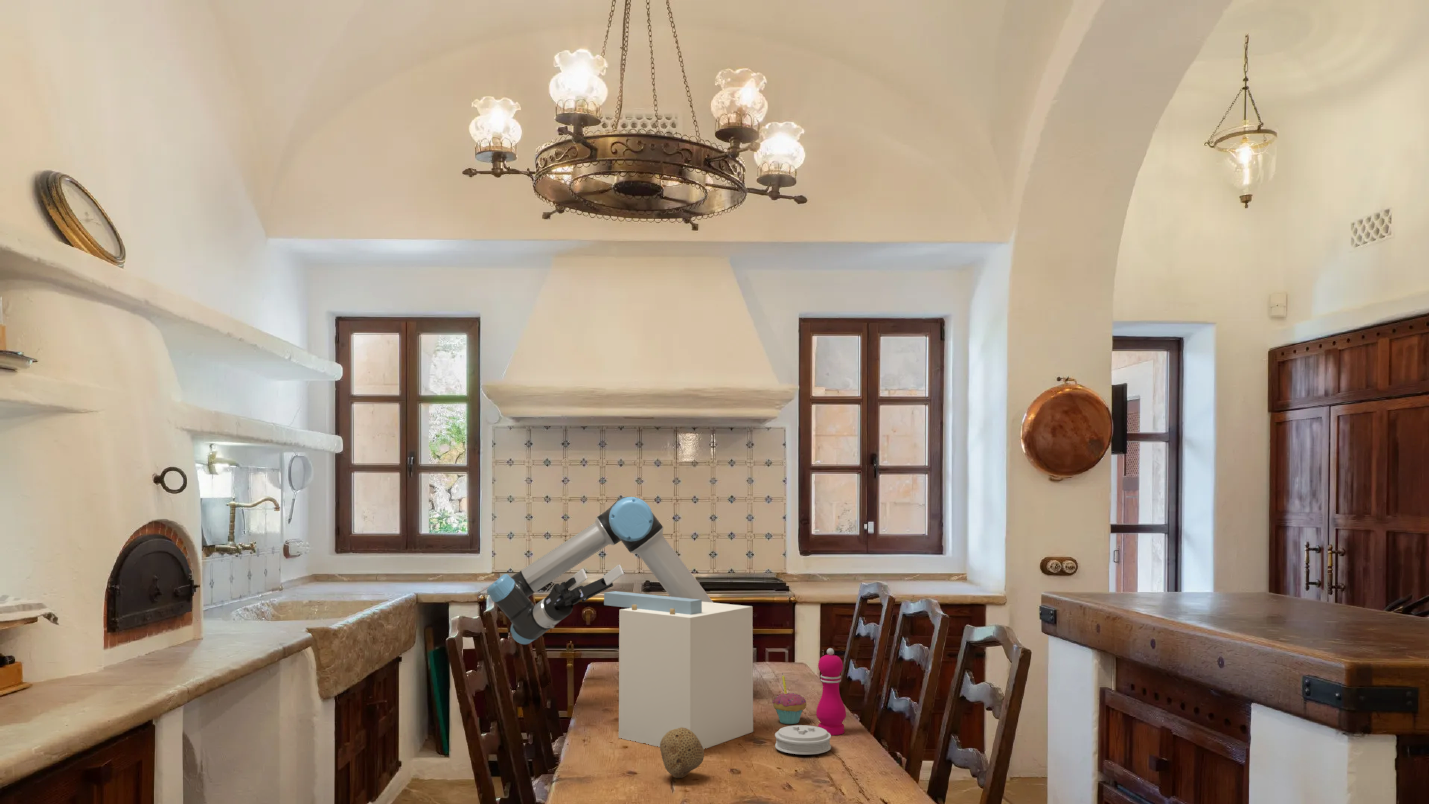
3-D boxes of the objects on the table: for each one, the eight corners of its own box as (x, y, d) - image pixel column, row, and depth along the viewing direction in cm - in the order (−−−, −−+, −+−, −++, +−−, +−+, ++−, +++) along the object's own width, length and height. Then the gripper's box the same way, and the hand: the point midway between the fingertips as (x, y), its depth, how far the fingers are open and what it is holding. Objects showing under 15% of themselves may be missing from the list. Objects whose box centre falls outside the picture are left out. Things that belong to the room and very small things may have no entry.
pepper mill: (845, 736, 230) (844, 651, 231) (814, 735, 231) (814, 650, 233) (847, 729, 237) (846, 646, 238) (817, 727, 238) (817, 645, 240)
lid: (785, 760, 211) (785, 737, 211) (767, 745, 223) (767, 723, 224) (839, 756, 214) (839, 733, 215) (818, 741, 227) (818, 719, 227)
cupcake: (767, 723, 242) (767, 674, 243) (781, 716, 250) (781, 669, 251) (798, 727, 238) (798, 678, 239) (812, 720, 245) (811, 672, 246)
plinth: (618, 737, 229) (619, 604, 231) (683, 718, 248) (683, 595, 250) (690, 754, 215) (690, 612, 218) (753, 731, 234) (752, 601, 237)
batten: (604, 604, 240) (604, 592, 240) (615, 603, 243) (615, 591, 243) (690, 614, 223) (690, 601, 223) (701, 612, 226) (701, 599, 226)
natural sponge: (703, 770, 203) (703, 722, 204) (704, 784, 194) (704, 733, 195) (660, 771, 203) (660, 722, 204) (659, 784, 194) (659, 734, 195)
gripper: (591, 615, 268) (640, 579, 258) (523, 627, 248) (573, 589, 238) (581, 591, 271) (630, 555, 261) (513, 601, 251) (563, 562, 241)
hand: (603, 571), depth 250 cm, fingers open, 13 cm apart
